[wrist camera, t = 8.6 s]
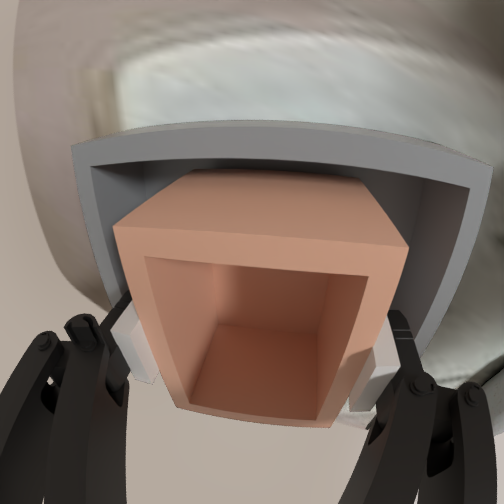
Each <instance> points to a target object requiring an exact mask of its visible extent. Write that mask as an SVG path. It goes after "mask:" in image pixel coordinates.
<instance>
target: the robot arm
mask: <svg viewBox="0 0 504 504" xmlns="http://www.w3.org/2000/svg"><path fill="white" fill-rule="evenodd" d="M64 328H65V330H66V332H67V334H68V336H69V337H70V339H71V341H60V340H59V338H58V337H57V335H56V333H54V332H52V331H45V332H42V333H40V334H39V335H37V336H36V338H35V339H34V340H33V341H32V343H31V344H30V346H29V347H28V349H27V350H26V352H25V353H24V355H23V357H22V358H21V360H20V361H19V363H18V365H17V366H16V368H15V369H14V371H13V373H12V374H11V376H10V378H9V380H8V381H7V383H6V385H5V387H4V388H3V390H2V392H1V394H0V504H42V502H43V498H44V504H127V501H126V474H125V473H126V468H125V467H126V466H125V460H126V459H125V458H126V457H125V455H126V426H127V408H128V396H129V381H128V380H127V376H128V374H129V373H130V371H131V373H132V374H133V376H134V378H135V379H136V380H139V381H142V382H145V383H149V384H153V383H154V380H155V378H156V376H157V374H158V372H159V368H158V366H157V363H156V361H155V359H154V356H153V354H152V351H151V349H150V346H149V344H148V341H147V338H146V336H145V333H144V330H143V328H142V325H141V322H140V320H139V317H138V314H137V312H136V309H135V306H134V303H133V299H132V296H131V293H130V290H128V291H126V292H125V293H124V295H123V296H122V297H121V298H120V300H119V301H118V302H117V303H116V305H115V306H114V308H113V309H112V310H111V311H110V312H109V314H108V315H107V316H106V318H105V319H104V320H103V322H102V323H101V324H100V326H99V325H98V323H97V321H96V319H95V317H94V316H92V315H91V314H79V315H76V316H74V317H73V318H71V319H70V320H69V321H68V322H67V323H66V324H65V326H64ZM49 377H51V378H52V379H53V381H54V382H53V383H52V384H51V385H49V384H48V382H47V380H48V378H49ZM375 404H376V411H377V414H376V415H375V417H374V418H373V419H372V420H371V421H370V423H369V424H368V425H367V427H366V429H367V430H368V429H369V428H370V429H369V432H368V435H367V438H366V441H365V443H364V446H363V449H362V451H361V454H360V456H359V459H358V461H357V464H356V466H355V469H354V471H353V473H352V476H351V478H350V480H349V482H348V484H347V486H346V489H345V491H344V493H343V495H342V497H341V499H340V501H339V503H338V504H414V501H415V498H416V495H417V492H418V489H419V492H418V502H417V504H497V468H496V453H495V444H494V436H493V429H492V422H491V417H490V411H489V406H488V401H487V397H486V394H485V392H484V390H483V389H482V387H481V386H480V385H478V384H477V383H475V382H466V383H463V384H462V385H461V386H460V387H459V388H458V389H457V390H455V389H451V388H446V387H441V386H438V385H437V384H436V382H435V380H434V378H433V377H432V376H431V375H429V374H428V373H426V372H424V371H423V368H422V364H421V361H420V358H419V354H418V351H417V348H416V345H415V342H414V340H413V336H412V333H411V331H410V327H409V324H408V321H407V319H406V318H405V316H404V315H403V314H402V313H401V312H400V311H399V310H388V313H387V316H386V318H385V321H384V323H383V325H382V328H381V330H380V333H379V335H378V337H377V340H376V342H375V344H374V346H373V347H372V349H371V352H370V354H369V356H368V358H367V360H366V362H365V364H364V367H363V369H362V371H361V373H360V375H359V377H358V379H357V381H356V382H355V384H354V386H353V388H352V390H351V392H350V394H349V405H350V412H362V411H371V409H372V408H373V407H374V405H375Z"/></svg>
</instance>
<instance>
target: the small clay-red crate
mask: <svg viewBox="0 0 504 504" xmlns="http://www.w3.org/2000/svg"><path fill="white" fill-rule="evenodd" d="M113 231H114V235H115V239H116V243H117V247H118V251H119V255H120V259H121V263H122V266H123V270H124V273H125V277H126V280H127V283H128V287H129V290H130V293H131V296H132V299H133V303H134V306H135V309H136V312H137V314H138V317H139V320H140V322H141V325H142V328H143V330H144V333H145V336H146V338H147V341H148V344H149V346H150V349H151V351H152V354H153V356H154V359H155V361H156V363H157V366H158V368H159V371H160V373H161V376H162V378H163V380H164V382H165V384H166V387H167V389H168V391H169V393H170V395H171V397H172V399H173V401H174V403H175V406H176V407H178V408H182V409H186V410H190V411H194V412H198V413H203V414H208V415H212V416H218V417H223V418H228V419H234V420H240V421H247V422H254V423H262V424H271V425H282V426H295V427H315V428H316V427H317V428H330V427H331V426H332V424H333V422H334V421H335V419H336V417H337V416H338V414H339V412H340V411H341V409H342V407H343V405H344V404H345V402H346V400H347V398H348V397H349V394H350V392H351V390H352V388H353V386H354V384H355V382H356V381H357V379H358V377H359V375H360V373H361V371H362V369H363V367H364V364H365V362H366V360H367V358H368V356H369V354H370V352H371V349H372V347H373V346H374V344H375V342H376V340H377V337H378V335H379V333H380V330H381V328H382V325H383V323H384V321H385V318H386V316H387V313H388V310H389V308H390V305H391V302H392V300H393V297H394V294H395V291H396V289H397V286H398V283H399V280H400V277H401V274H402V270H403V267H404V264H405V261H406V257H407V254H408V251H409V247H408V245H407V244H406V242H405V241H404V239H403V238H402V236H401V235H400V233H399V232H398V230H397V229H396V227H395V226H394V224H393V223H392V221H391V220H390V219H389V217H388V216H387V214H386V213H385V212H384V210H383V209H382V208H381V206H380V205H379V203H378V202H377V201H376V199H375V198H374V197H373V196H372V194H371V193H370V192H369V190H368V189H367V188H366V186H365V185H364V184H363V183H362V181H361V180H360V179H359V178H356V177H347V176H338V175H328V174H317V173H305V172H291V171H274V170H250V169H193V170H192V171H190V172H188V173H187V174H185V175H184V176H182V177H181V178H179V179H178V180H176V181H175V182H173V183H172V184H170V185H169V186H167V187H166V188H164V189H163V190H161V191H160V192H158V193H157V194H155V195H154V196H153V197H151V198H150V199H148V200H147V201H145V202H144V203H143V204H141V205H140V206H139V207H137V208H136V209H134V210H133V211H132V212H130V213H129V214H128V215H126V216H125V217H124V218H122V219H121V220H120V221H119V222H117V223H116V224H115V225H113Z"/></svg>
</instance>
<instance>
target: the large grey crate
mask: <svg viewBox="0 0 504 504" xmlns="http://www.w3.org/2000/svg"><path fill="white" fill-rule="evenodd" d="M71 150H72V158H73V164H74V171H75V177H76V182H77V188H78V193H79V198H80V202H81V207H82V211H83V216H84V220H85V224H86V228H87V232H88V236H89V239H90V243H91V246H92V250H93V253H94V257H95V260H96V263H97V266H98V269H99V272H100V275H101V278H102V281H103V284H104V287H105V290H106V293H107V295H108V298H109V301H110V303H111V306H112V308H114V306H115V305H116V303H117V302H118V301H119V300H120V298H121V297H122V296H123V295H124V293H125V292H126V291H128V290H129V287H128V283H127V280H126V277H125V273H124V270H123V266H122V263H121V259H120V255H119V251H118V247H117V243H116V239H115V235H114V231H113V225H115V224H116V223H117V222H119V221H120V220H121V219H122V218H124V217H125V216H126V215H128V214H129V213H130V212H132V211H133V210H134V209H136V208H137V207H139V206H140V205H141V204H143V203H144V202H145V201H147V200H148V199H150V198H151V197H153V196H154V195H155V194H157V193H158V192H160V191H161V190H163V189H164V188H166V187H167V186H169V185H170V184H172V183H173V182H175V181H176V180H178V179H179V178H181V177H182V176H184V175H185V174H187V173H188V172H190V171H192V170H193V169H250V170H274V171H291V172H305V173H317V174H328V175H338V176H347V177H356V178H359V179H360V180H361V181H362V183H363V184H364V185H365V186H366V188H367V189H368V190H369V192H370V193H371V194H372V196H373V197H374V198H375V199H376V201H377V202H378V203H379V205H380V206H381V208H382V209H383V210H384V212H385V213H386V214H387V216H388V217H389V219H390V220H391V221H392V223H393V224H394V226H395V227H396V229H397V230H398V232H399V233H400V235H401V236H402V238H403V239H404V241H405V242H406V244H407V245H408V247H409V251H408V254H407V257H406V261H405V264H404V267H403V270H402V274H401V277H400V280H399V283H398V286H397V289H396V291H395V294H394V297H393V300H392V302H391V305H390V308H389V310H399V311H400V312H401V313H402V314H403V315H404V316H405V318H406V319H407V321H408V324H409V327H410V331H411V333H412V336H413V340H414V342H415V345H416V348H417V351H418V354H419V358H421V356H422V354H423V353H424V351H425V349H426V348H427V346H428V344H429V343H430V341H431V339H432V337H433V336H434V334H435V332H436V330H437V328H438V327H439V325H440V323H441V321H442V319H443V317H444V315H445V313H446V311H447V309H448V307H449V305H450V303H451V301H452V299H453V296H454V294H455V292H456V290H457V288H458V285H459V283H460V281H461V278H462V276H463V273H464V271H465V268H466V266H467V263H468V261H469V258H470V255H471V252H472V249H473V247H474V244H475V241H476V238H477V234H478V231H479V228H480V225H481V221H482V218H483V214H484V210H485V206H486V202H487V198H488V194H489V189H490V184H491V179H492V174H493V168H494V167H492V166H490V165H488V164H486V163H483V162H481V161H479V160H477V159H475V158H472V157H470V156H468V155H465V154H463V153H460V152H458V151H455V150H453V149H450V148H447V147H445V146H442V145H439V144H436V143H432V142H428V141H424V140H420V139H416V138H411V137H407V136H402V135H397V134H392V133H387V132H381V131H375V130H369V129H363V128H356V127H349V126H341V125H332V124H322V123H310V122H296V121H274V120H223V121H202V122H187V123H176V124H166V125H157V126H149V127H141V128H135V129H130V130H126V131H121V132H117V133H113V134H109V135H106V136H102V137H98V138H95V139H91V140H88V141H85V142H81V143H78V144H75V145H72V146H71Z"/></svg>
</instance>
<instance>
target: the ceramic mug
mask: <svg viewBox="0 0 504 504" xmlns="http://www.w3.org/2000/svg"><path fill="white" fill-rule="evenodd" d="M482 389H483V390H484V392H485V394H486V397H487V401H488V406H489V411H490V417H491V422H492V429H493V436H496V435H498V434H501V433H503V432H504V368H503V369H502V370H501V371H500V372H499V373H498V374H497V375H495V376H494V377H493V378H491V379H490V380H489V381H488V382H486V383H485V384H484V385H483V386H482Z"/></svg>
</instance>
